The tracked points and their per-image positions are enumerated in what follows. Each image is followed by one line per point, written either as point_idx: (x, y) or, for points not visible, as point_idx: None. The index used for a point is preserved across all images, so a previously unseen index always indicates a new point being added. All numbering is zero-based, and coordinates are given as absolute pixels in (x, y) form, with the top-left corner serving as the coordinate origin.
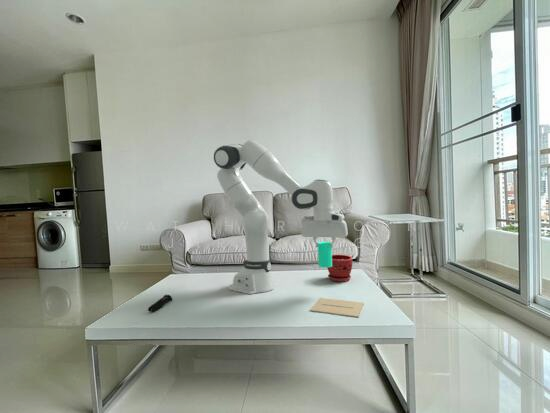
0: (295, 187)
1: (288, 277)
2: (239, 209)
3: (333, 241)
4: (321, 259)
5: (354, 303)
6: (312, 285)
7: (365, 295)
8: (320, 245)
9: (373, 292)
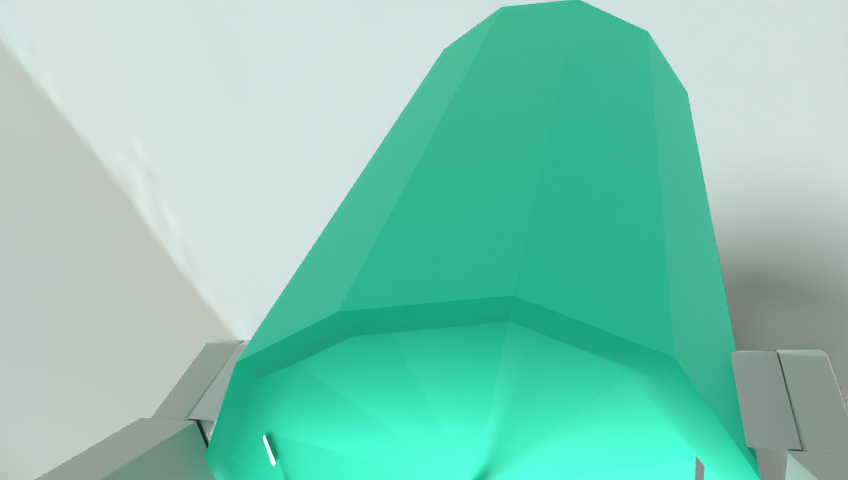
0: None
1: None
2: None
3: (61, 476)
4: (570, 51)
5: None
6: (840, 236)
7: (209, 111)
8: (559, 256)
9: (188, 211)
